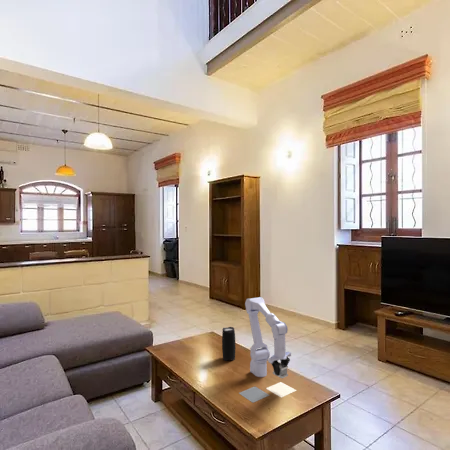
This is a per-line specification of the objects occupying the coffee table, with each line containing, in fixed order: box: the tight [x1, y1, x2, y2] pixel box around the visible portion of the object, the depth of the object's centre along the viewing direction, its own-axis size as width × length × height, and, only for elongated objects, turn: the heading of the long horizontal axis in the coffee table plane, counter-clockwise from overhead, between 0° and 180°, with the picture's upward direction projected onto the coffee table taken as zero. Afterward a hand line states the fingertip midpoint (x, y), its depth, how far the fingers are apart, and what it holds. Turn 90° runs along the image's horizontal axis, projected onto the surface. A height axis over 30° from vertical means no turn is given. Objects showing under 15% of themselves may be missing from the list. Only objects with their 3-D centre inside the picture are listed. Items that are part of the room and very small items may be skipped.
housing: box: [272, 361, 289, 379], centre depth 161 cm, size 6×4×5 cm
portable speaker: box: [221, 326, 237, 362], centre depth 203 cm, size 9×9×20 cm
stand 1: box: [238, 386, 270, 403], centre depth 157 cm, size 11×11×2 cm
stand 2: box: [265, 381, 297, 398], centre depth 162 cm, size 11×11×2 cm
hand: (280, 373), depth 162 cm, fingers closed on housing, 4 cm apart
